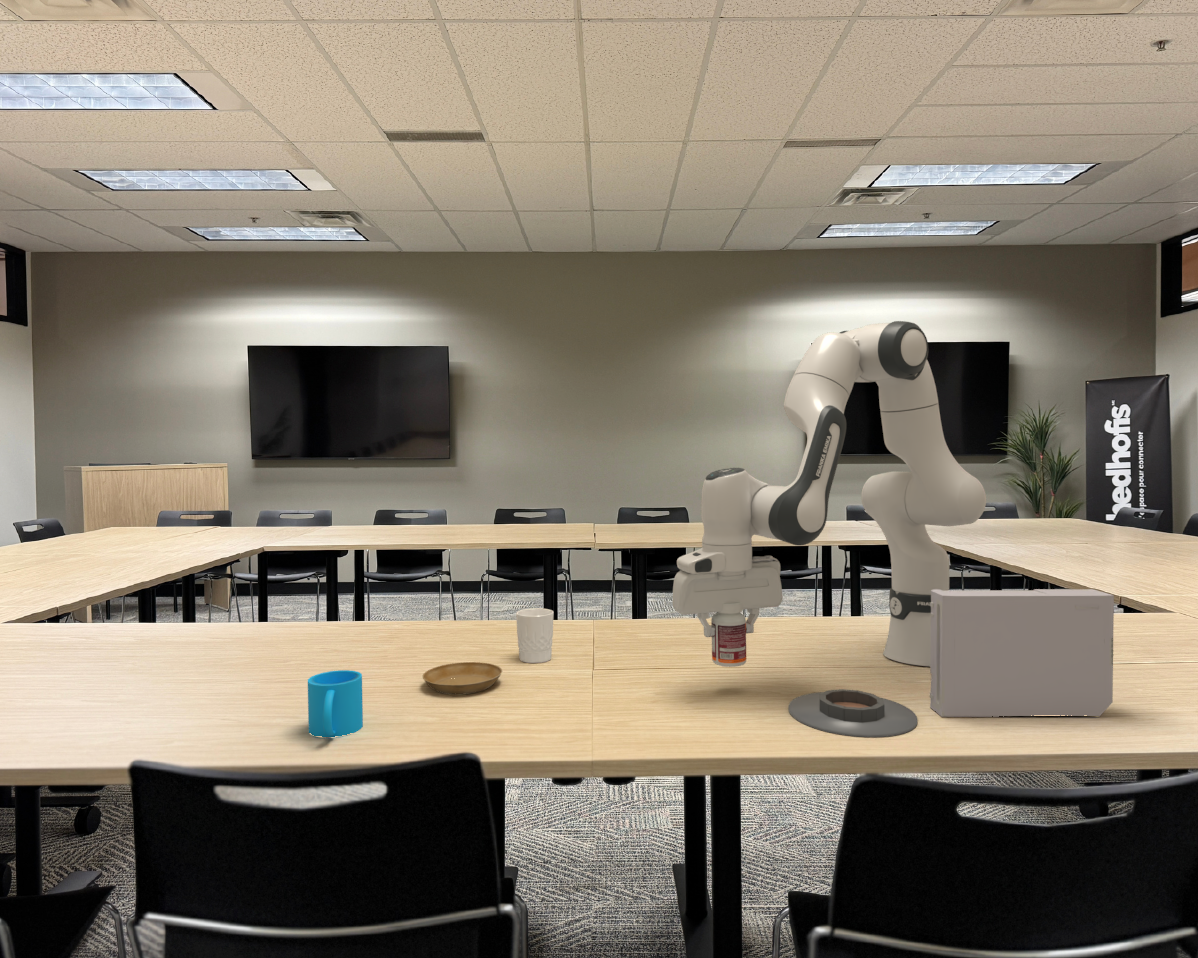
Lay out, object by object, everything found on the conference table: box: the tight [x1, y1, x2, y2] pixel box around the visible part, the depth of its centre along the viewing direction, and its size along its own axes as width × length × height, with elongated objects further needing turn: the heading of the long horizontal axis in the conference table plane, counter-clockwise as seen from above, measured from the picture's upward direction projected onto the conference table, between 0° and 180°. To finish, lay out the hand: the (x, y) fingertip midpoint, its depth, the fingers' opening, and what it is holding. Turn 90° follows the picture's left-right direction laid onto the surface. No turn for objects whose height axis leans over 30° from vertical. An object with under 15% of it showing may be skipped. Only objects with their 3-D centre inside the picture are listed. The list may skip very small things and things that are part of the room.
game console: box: [929, 588, 1115, 718], centre depth 121 cm, size 6×27×20 cm, turn 88°
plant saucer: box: [422, 661, 503, 695], centre depth 138 cm, size 15×15×3 cm
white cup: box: [515, 607, 554, 664], centre depth 156 cm, size 8×8×10 cm
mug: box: [307, 669, 364, 737], centre depth 115 cm, size 12×8×8 cm
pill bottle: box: [710, 602, 747, 668], centre depth 133 cm, size 6×6×11 cm
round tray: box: [788, 688, 918, 738], centre depth 121 cm, size 20×20×2 cm
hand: (728, 634), depth 133 cm, fingers closed on pill bottle, 6 cm apart
